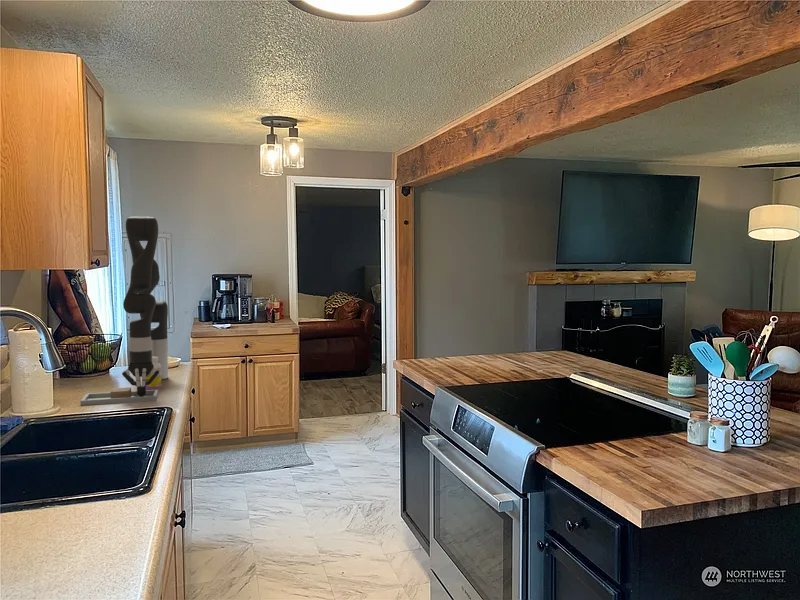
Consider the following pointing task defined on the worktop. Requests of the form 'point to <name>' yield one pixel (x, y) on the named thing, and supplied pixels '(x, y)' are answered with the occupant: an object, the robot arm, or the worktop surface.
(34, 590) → the worktop surface
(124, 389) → the block
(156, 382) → the supplement bottle
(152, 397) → the tray
